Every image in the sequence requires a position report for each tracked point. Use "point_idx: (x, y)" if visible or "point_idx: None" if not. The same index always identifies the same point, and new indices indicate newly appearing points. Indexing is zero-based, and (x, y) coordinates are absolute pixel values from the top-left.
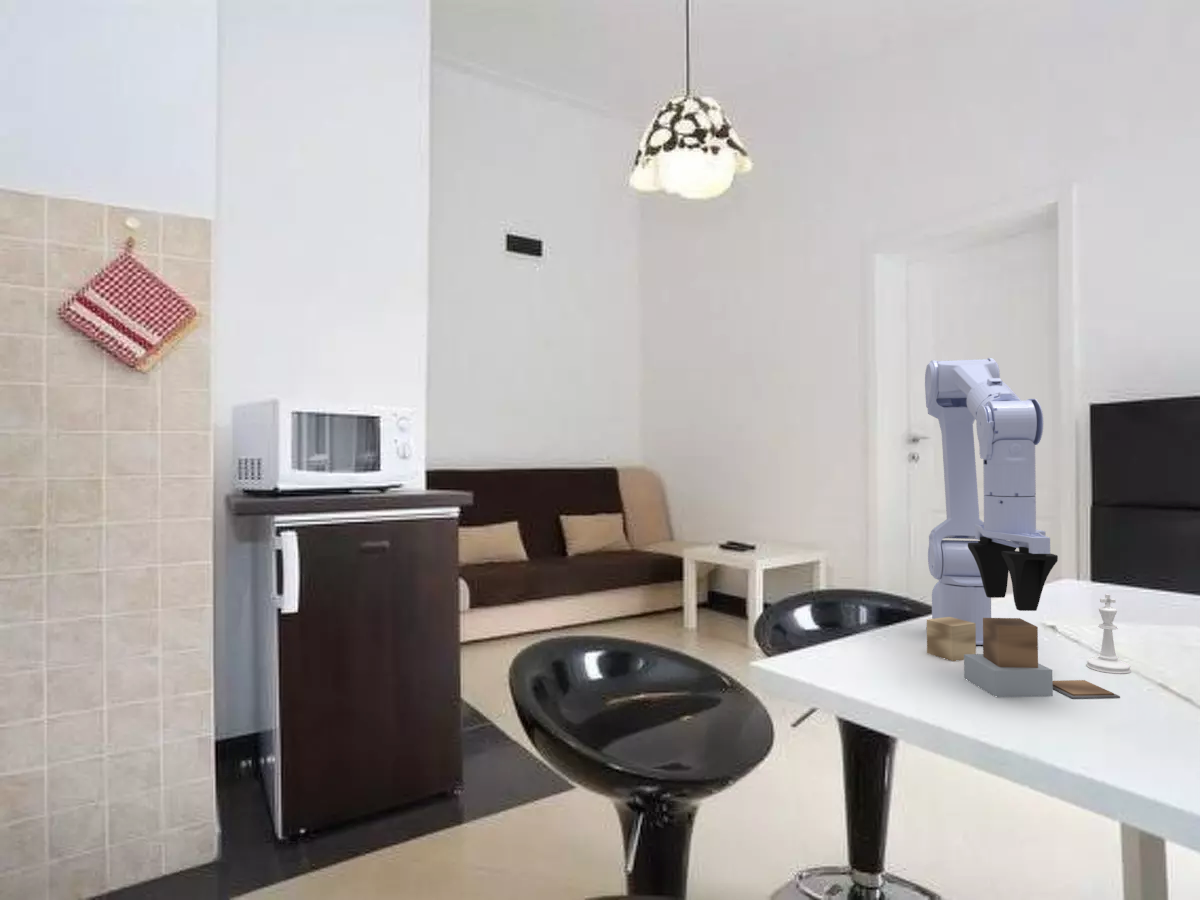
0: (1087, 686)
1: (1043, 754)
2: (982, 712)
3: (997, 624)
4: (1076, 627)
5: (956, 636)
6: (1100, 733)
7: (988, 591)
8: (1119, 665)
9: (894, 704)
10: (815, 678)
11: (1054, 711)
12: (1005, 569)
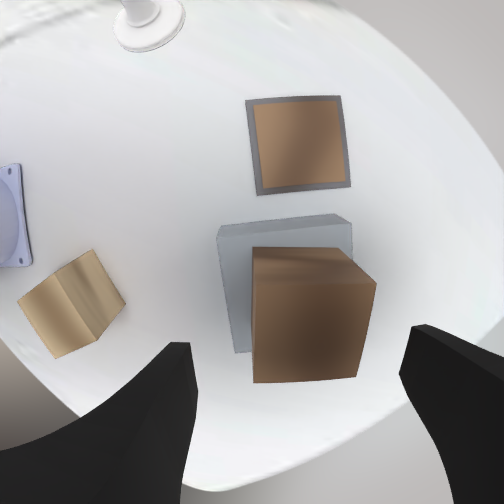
0: (297, 123)
1: (484, 324)
2: (391, 350)
3: (338, 375)
4: None
5: (99, 316)
6: (465, 236)
7: (194, 408)
8: (173, 8)
9: (348, 425)
10: (252, 469)
11: (401, 252)
12: (153, 431)
